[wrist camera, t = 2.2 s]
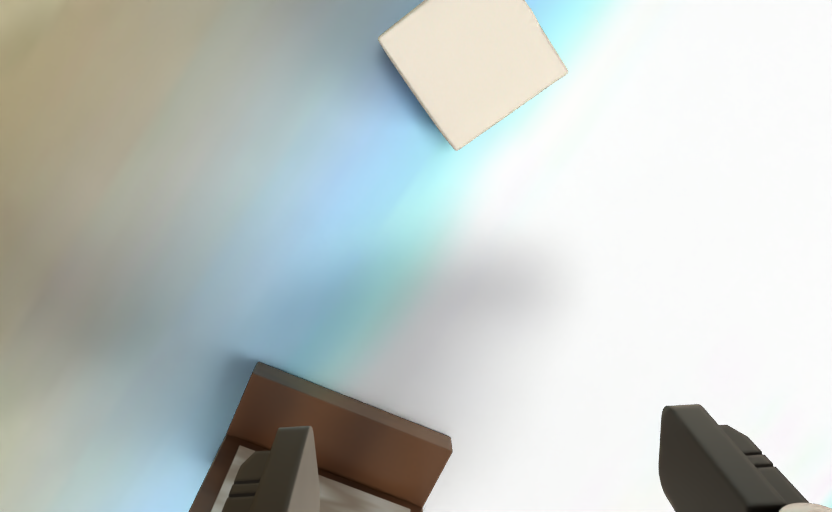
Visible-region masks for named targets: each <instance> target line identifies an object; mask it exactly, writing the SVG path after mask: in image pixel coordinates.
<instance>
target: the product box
mask: <svg viewBox="0 0 832 512" xmlns="http://www.w3.org/2000/svg"><path fill="white" fill-rule="evenodd" d="M378 41H379V43H380V44H381V46H382V47H383V49H384V51H385V52H386V54H387V55H388V57H389V58H390V60H391V61H392V63H393V64H394V66H395V67H396V69H397V70H398V72H399V73H400V75H401V76H402V78H403V79H404V81H405V82H406V84H407V85H408V86H409V88H410V89H411V91H412V92H413V94H414V95H415V97H416V98H417V100H418V101H419V102H420V104H421V105H422V107H423V108H424V110H425V111H426V112H427V114H428V115H429V117H430V118H431V119H432V121H433V122H434V124H435V125H436V126H437V128H438V129H439V131H440V132H441V133H442V135H443V136H444V137H445V139H446V140H447V141H448V142H449V144H450V145H451V146H452V147H453V148H454V150H456V151H457V150H459V149H461V148H462V147H463V146H465V145H466V144H468V143H469V142H471V141H472V140H473V139H475V138H476V137H478V136H479V135H481V134H482V133H483V132H485V131H486V130H488V129H489V128H490V127H492V126H493V125H495V124H496V123H498V122H499V121H500V120H502V119H503V118H505V117H506V116H508V115H509V114H510V113H512V112H513V111H515V110H516V109H518V108H519V107H520V106H522V105H523V104H525V103H526V102H527V101H529V100H530V99H532V98H533V97H534V96H536V95H537V94H539V93H540V92H542V91H543V90H544V89H546V88H547V87H548V86H550V85H551V84H553V83H554V82H556V81H557V80H559V79H560V78H562V77H563V76H565V75H566V74H567V73H568V70H567V68H566V66H565V65H564V63H563V62H562V60H561V58H560V57H559V55H558V54H557V52H556V50H555V49H554V47H553V46H552V44H551V42H550V41H549V39H548V38H547V36H546V34H545V33H544V31H543V30H542V28H541V26H540V25H539V23H538V21H537V19H536V17H535V15H534V14H533V12H532V10H531V9H530V7H529V6H528V5H527V3H526V2H525V0H424V1H423V2H422V3H420V4H419V5H418V6H417V7H415V8H414V9H413V10H412V11H410V12H409V13H408V14H407V15H405V16H404V17H403V18H402V19H400V20H399V21H398V22H396V23H395V24H394V25H393V26H391V27H390V28H389V29H388V30H387V31H385V32H384V33H383V34H382V35H380V36H379V38H378Z"/></svg>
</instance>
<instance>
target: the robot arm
mask: <svg viewBox="0 0 832 512" xmlns="http://www.w3.org/2000/svg"><path fill="white" fill-rule="evenodd" d="M659 476H660V481H661V485H662V488H663V491H664V493H665V495H666V497H667V499H668V500H669V502H670V503H671V505H672V507H673V508H674V510H675V512H832V509H831V508H828V507H825V506H822V505H818V504H812V503H809V502H808V501H807V500H806V499H805V498H804V497H803V496H802V495H801V493H800V492H799V491H798V490H797V489H796V488H795V487H794V486H793V485H792V484H791V483H790V482H789V481H788V480H787V478H786V477H785V476H784V475H783V474H782V473H781V472H780V471H779V470H778V469H777V468H776V467H773V463H772V462H771V461H770V460H769V459H768V458H767V457H766V456H765V455H762V452H761V450H760V449H759V448H758V447H757V446H756V445H755V444H754V443H753V442H752V441H751V440H750V439H749V438H748V437H747V436H745V435H744V434H742V433H740V432H738V431H737V430H735V429H733V428H731V427H730V426H728V425H718V424H717V423H716V421H715V420H714V419H713V418H712V417H711V416H710V415H709V413H708V412H707V411H706V410H705V409H704V408H703V407H702V406H701V405H699V404H694V405H676V406H665V407H664V409H663V411H662V417H661V434H660V450H659ZM319 507H320V487H319V477H318V468H317V459H316V450H315V442H314V434H313V429H312V427H311V426H300V427H282V428H278V430H277V433H276V436H275V439H274V441H273V444H272V447H271V450H269V451H255V452H254V453H253V454H252V455H251V456H250V457H249V458H248V459H247V460H246V461H245V462H244V463H243V464H242V465H241V466H240V468H239V470H238V473H237V475H236V478H235V480H234V484H233V485H232V487H231V490H230V492H229V497H228V498H227V499H226V502H225V504H224V507H223V509H222V512H319Z"/></svg>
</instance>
